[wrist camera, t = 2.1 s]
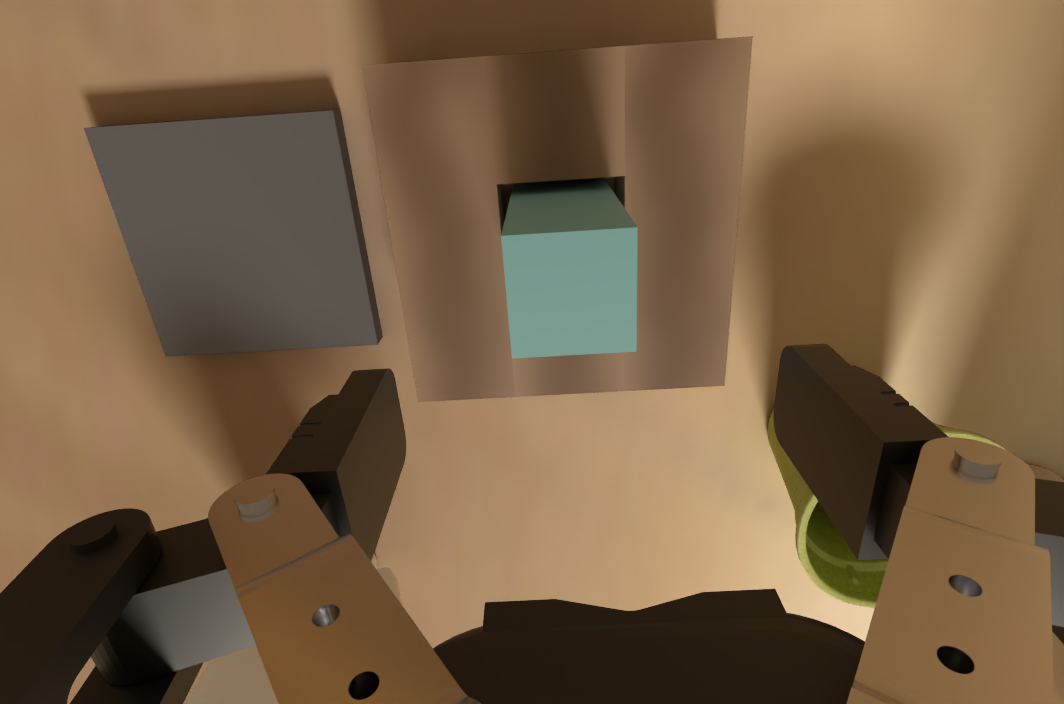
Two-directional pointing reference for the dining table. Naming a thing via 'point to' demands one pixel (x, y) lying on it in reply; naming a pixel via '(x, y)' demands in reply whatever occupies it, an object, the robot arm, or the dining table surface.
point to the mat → (242, 231)
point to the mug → (248, 671)
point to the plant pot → (834, 536)
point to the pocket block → (563, 154)
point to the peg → (569, 269)
